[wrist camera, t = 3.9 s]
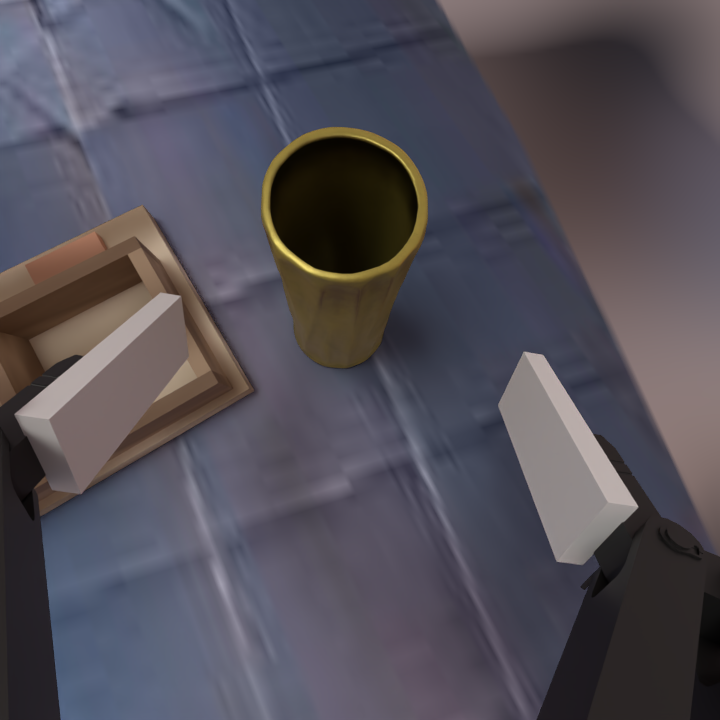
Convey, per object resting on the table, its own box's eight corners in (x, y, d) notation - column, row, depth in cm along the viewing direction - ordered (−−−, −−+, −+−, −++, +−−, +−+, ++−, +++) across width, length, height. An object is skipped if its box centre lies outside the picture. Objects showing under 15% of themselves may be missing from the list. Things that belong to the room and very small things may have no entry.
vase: (309, 381, 25) (278, 322, 11) (281, 296, 26) (218, 138, 11) (396, 352, 25) (473, 261, 11) (366, 270, 26) (403, 92, 12)
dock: (-152, 366, 23) (-269, 352, 18) (153, 217, 26) (116, 174, 21) (-59, 575, 21) (-162, 614, 17) (254, 390, 24) (236, 383, 20)
